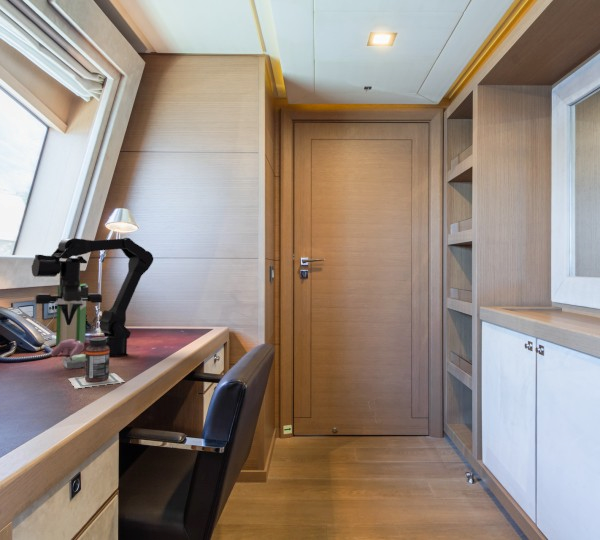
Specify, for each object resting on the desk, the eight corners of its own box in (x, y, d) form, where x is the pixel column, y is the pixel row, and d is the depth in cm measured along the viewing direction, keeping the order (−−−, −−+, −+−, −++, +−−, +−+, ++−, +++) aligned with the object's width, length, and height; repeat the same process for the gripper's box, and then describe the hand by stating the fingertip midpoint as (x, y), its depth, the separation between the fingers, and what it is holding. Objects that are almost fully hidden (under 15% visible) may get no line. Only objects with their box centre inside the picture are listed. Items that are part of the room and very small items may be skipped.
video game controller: (81, 361, 143) (88, 342, 146) (71, 358, 139) (79, 338, 142) (58, 359, 146) (67, 339, 149) (48, 355, 142) (57, 335, 145)
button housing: (93, 360, 138) (93, 354, 138) (99, 365, 131) (99, 360, 131) (62, 363, 133) (62, 357, 133) (66, 369, 126) (67, 363, 126)
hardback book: (78, 350, 153) (80, 285, 153) (55, 351, 150) (57, 285, 150) (84, 342, 169) (86, 283, 169) (64, 343, 167) (66, 283, 167)
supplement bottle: (85, 377, 116) (86, 337, 116) (109, 376, 118) (110, 336, 118) (83, 383, 110) (85, 340, 110) (108, 381, 112) (109, 340, 112)
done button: (87, 361, 136) (88, 353, 136) (91, 364, 132) (91, 356, 132) (70, 362, 133) (70, 355, 133) (73, 365, 129) (73, 358, 129)
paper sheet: (114, 374, 122) (114, 372, 122) (124, 382, 113) (124, 381, 113) (68, 379, 115) (68, 378, 115) (75, 389, 106) (75, 387, 106)
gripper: (38, 277, 123) (37, 330, 123) (106, 278, 134) (105, 326, 134) (35, 276, 132) (33, 325, 132) (99, 277, 143) (97, 322, 143)
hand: (68, 325), depth 135 cm, fingers closed
